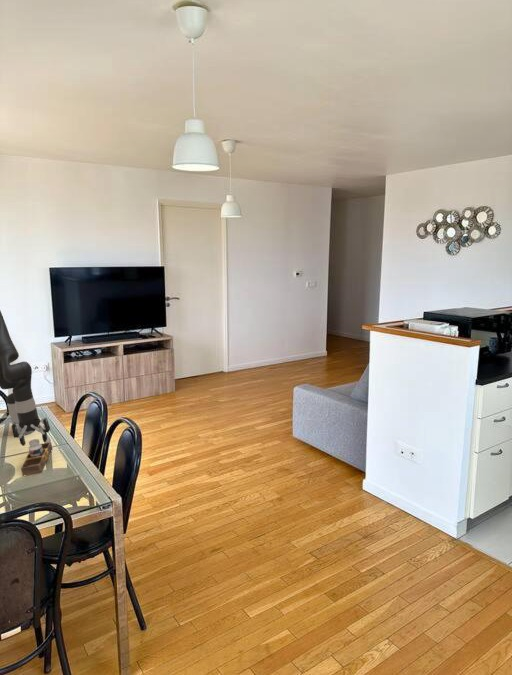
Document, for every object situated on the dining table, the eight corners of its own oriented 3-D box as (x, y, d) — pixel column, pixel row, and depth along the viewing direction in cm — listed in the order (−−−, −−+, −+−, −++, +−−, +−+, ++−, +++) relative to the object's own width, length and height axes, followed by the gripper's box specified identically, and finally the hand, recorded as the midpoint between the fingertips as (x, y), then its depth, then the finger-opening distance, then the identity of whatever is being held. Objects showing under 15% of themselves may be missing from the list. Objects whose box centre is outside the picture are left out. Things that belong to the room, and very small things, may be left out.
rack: (35, 452, 212) (33, 444, 211) (53, 449, 213) (51, 441, 212) (22, 476, 192) (20, 467, 191) (42, 472, 193) (40, 464, 192)
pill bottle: (30, 463, 200) (25, 445, 197) (34, 457, 205) (29, 439, 202) (42, 461, 200) (38, 443, 198) (46, 455, 205) (41, 437, 203)
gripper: (46, 402, 201) (53, 436, 205) (10, 407, 199) (19, 442, 203) (42, 409, 194) (50, 444, 198) (5, 415, 191) (14, 450, 196)
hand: (34, 443), depth 201 cm, fingers open, 8 cm apart
